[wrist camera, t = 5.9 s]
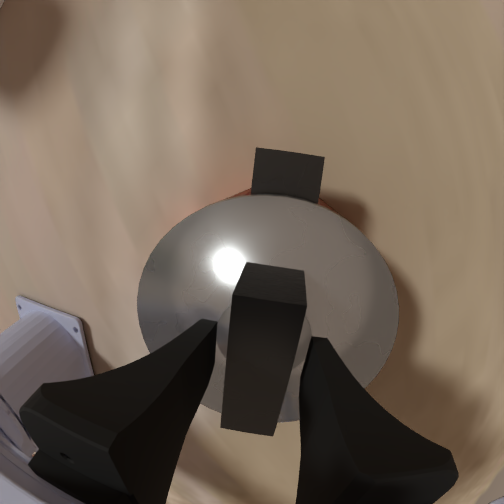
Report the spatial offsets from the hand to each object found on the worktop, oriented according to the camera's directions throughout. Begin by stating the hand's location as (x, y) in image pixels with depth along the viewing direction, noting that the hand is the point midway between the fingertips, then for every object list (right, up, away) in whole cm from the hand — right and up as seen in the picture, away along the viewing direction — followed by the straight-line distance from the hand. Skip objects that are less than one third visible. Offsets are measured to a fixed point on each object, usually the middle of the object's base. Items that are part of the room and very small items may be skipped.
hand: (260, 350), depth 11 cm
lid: (0, 0, +2) cm, 2 cm away
